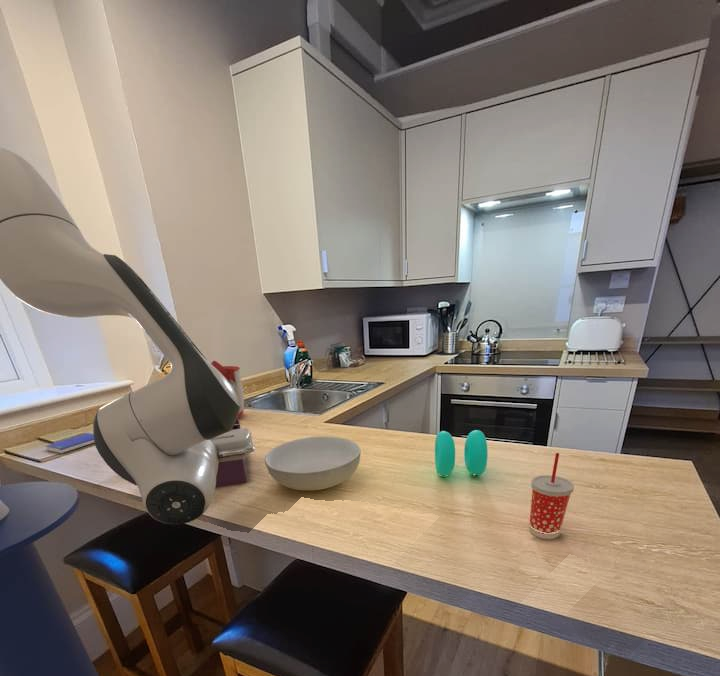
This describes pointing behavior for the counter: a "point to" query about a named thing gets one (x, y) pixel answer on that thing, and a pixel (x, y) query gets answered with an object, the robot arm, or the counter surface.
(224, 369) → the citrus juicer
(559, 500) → the beverage cup
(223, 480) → the box
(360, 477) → the counter surface
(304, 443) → the serving bowl
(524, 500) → the counter surface
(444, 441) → the pair of teal ovoids
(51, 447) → the hard drive
